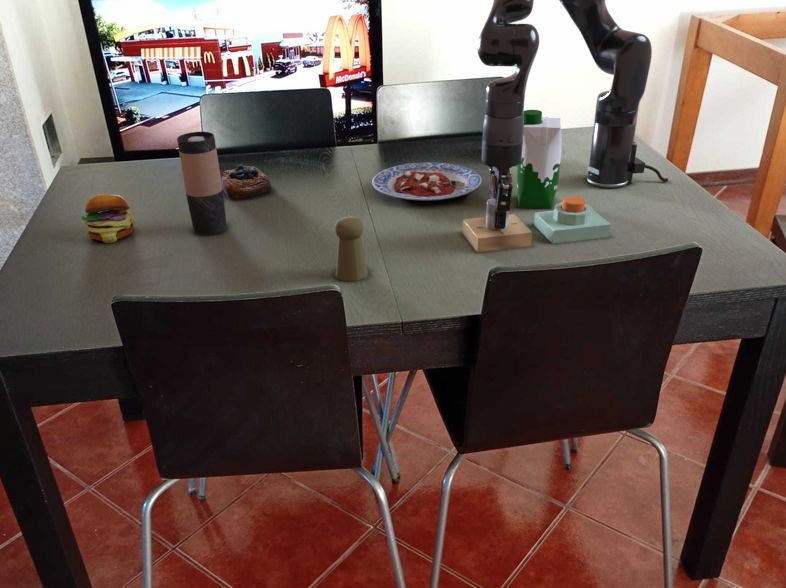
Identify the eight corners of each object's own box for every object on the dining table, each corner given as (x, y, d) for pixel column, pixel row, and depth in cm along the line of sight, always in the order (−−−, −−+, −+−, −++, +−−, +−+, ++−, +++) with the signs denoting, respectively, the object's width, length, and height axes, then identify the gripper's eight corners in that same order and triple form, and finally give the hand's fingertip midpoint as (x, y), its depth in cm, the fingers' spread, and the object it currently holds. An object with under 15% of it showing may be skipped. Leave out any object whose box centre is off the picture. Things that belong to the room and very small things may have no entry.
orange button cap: (578, 204, 155) (579, 195, 154) (588, 212, 152) (589, 202, 151) (558, 207, 155) (559, 197, 154) (567, 214, 151) (568, 205, 150)
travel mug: (234, 223, 166) (221, 132, 155) (217, 237, 160) (202, 143, 149) (203, 220, 168) (188, 130, 158) (185, 234, 162) (169, 140, 152)
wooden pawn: (334, 268, 145) (331, 213, 139) (366, 266, 145) (364, 211, 139) (336, 282, 140) (332, 226, 134) (369, 279, 140) (366, 224, 134)
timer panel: (513, 227, 158) (514, 213, 157) (530, 246, 150) (532, 231, 148) (462, 233, 157) (463, 218, 155) (477, 252, 148) (478, 237, 147)
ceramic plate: (355, 201, 175) (355, 189, 173) (394, 167, 195) (394, 155, 193) (463, 213, 166) (464, 200, 164) (493, 176, 186) (493, 164, 184)
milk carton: (515, 195, 174) (521, 106, 164) (556, 196, 173) (564, 107, 162) (514, 209, 167) (520, 117, 157) (556, 210, 165) (565, 118, 155)
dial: (483, 221, 154) (485, 196, 151) (505, 220, 154) (507, 195, 151) (487, 230, 150) (489, 204, 147) (510, 229, 150) (511, 203, 147)
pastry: (260, 179, 190) (258, 156, 187) (276, 194, 181) (274, 170, 178) (218, 187, 187) (214, 164, 183) (232, 202, 177) (228, 178, 174)
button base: (587, 219, 161) (590, 196, 158) (609, 237, 152) (612, 213, 150) (534, 225, 159) (535, 202, 156) (552, 243, 151) (554, 220, 148)
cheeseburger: (84, 247, 158) (73, 198, 155) (92, 239, 168) (82, 194, 165) (134, 241, 159) (124, 192, 156) (139, 233, 169) (130, 188, 166)
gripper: (478, 128, 149) (474, 210, 158) (487, 150, 137) (483, 238, 146) (516, 126, 149) (510, 209, 158) (529, 148, 136) (522, 236, 145)
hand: (497, 222), depth 152 cm, fingers closed on dial, 4 cm apart
